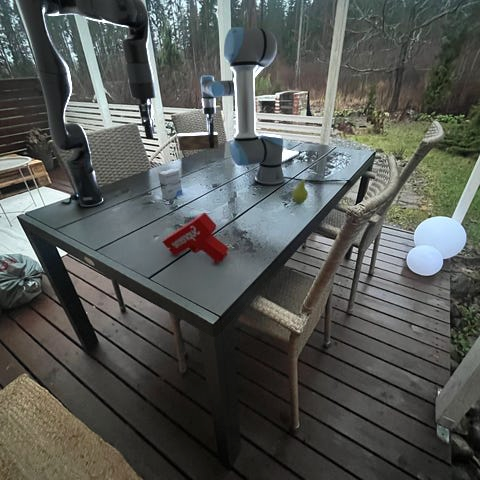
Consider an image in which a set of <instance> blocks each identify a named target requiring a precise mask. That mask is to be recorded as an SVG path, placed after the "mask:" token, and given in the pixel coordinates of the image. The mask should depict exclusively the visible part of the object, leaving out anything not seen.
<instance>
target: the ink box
mask: <svg viewBox="0 0 480 480" xmlns="http://www.w3.org/2000/svg"><path fill="white" fill-rule="evenodd" d="M157 175H158V180H159V186H160V191H161V197H162V198H164V199H165V200H171V199H174V198H176V197H180V196H182V195H183V194H184V193H183V187H182V179H181V171H180V170H179V169H176V168H172V169H168V170H164V171H160V172H158V173H157Z"/></svg>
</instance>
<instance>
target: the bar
mask: <svg viewBox="0 0 480 480" xmlns="http://www.w3.org/2000/svg"><path fill="white" fill-rule="evenodd" d="M208 136H209V133H207V132H189V133H188V132H187V133H177V139H178V148H179V152H180V151H183V152H184V151H199V150H215V149H216V150H217V149H219V134H218V132H216V131H214V148H210V142H209V138H208Z"/></svg>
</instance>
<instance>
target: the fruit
mask: <svg viewBox="0 0 480 480" xmlns="http://www.w3.org/2000/svg"><path fill="white" fill-rule="evenodd" d="M310 177H311V175H310V174H309V175H308V176H307V177H305V178H304V179H305V180H308V179H309V178H310ZM305 180H302V181H300V182H298V184H297V185H296V186H295V187H294V188H293V190H292V191H291V198H292V200H293V201H294V202H295V203H297V204H301V203H304V202H305V201H306V200H307V198H308V196H309V195H308V190H307V189H306V184H305V183H306V181H305Z"/></svg>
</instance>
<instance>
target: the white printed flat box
mask: <svg viewBox="0 0 480 480" xmlns="http://www.w3.org/2000/svg"><path fill="white" fill-rule="evenodd" d="M299 154H300V152H299V151H296V150H295V151H293V150H288V149H287V148H286V147H285V146H284V145H283V154H282V164H283V163H285V162H286V161H289V160H291V159H293V158H295V157H296V156H299Z"/></svg>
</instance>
